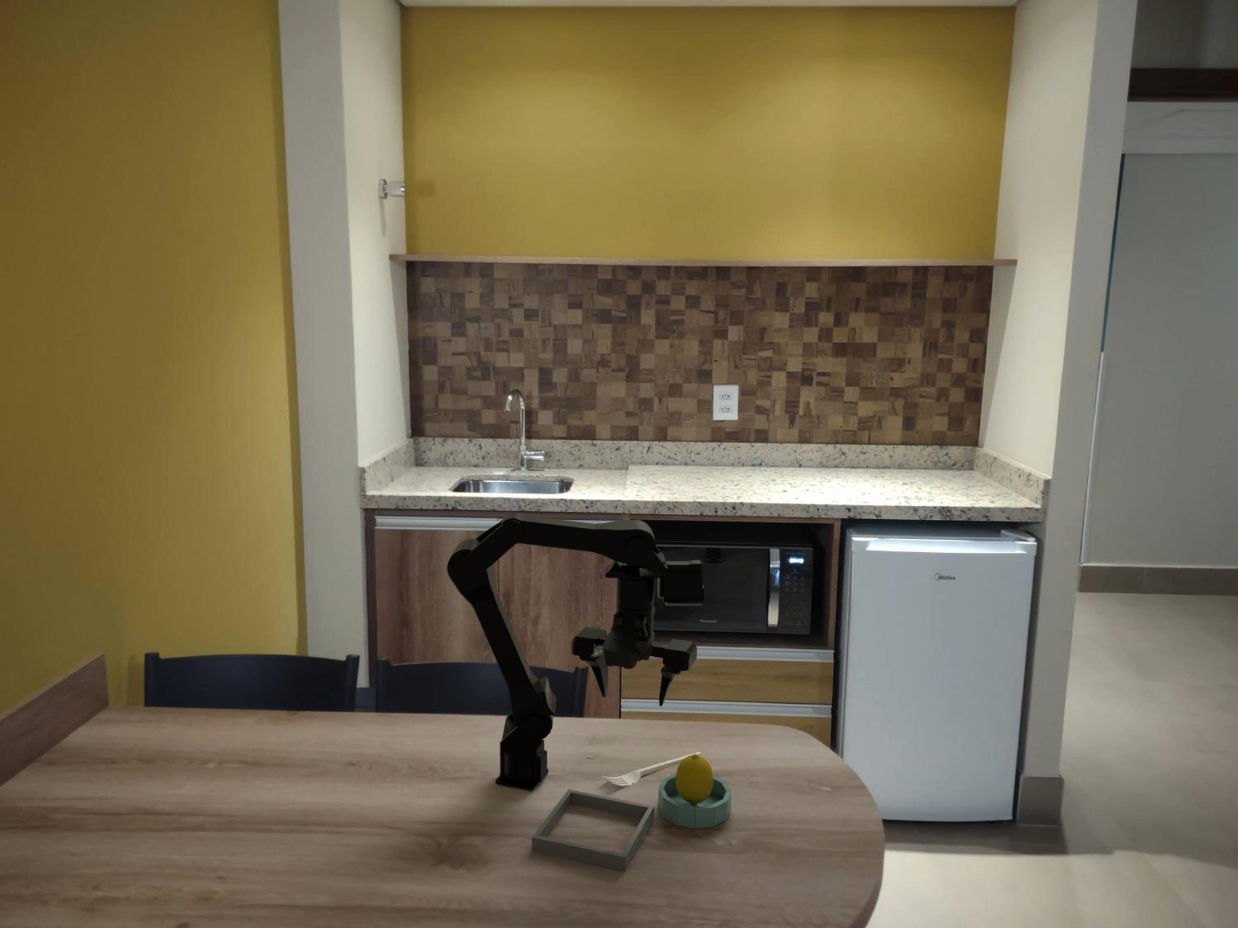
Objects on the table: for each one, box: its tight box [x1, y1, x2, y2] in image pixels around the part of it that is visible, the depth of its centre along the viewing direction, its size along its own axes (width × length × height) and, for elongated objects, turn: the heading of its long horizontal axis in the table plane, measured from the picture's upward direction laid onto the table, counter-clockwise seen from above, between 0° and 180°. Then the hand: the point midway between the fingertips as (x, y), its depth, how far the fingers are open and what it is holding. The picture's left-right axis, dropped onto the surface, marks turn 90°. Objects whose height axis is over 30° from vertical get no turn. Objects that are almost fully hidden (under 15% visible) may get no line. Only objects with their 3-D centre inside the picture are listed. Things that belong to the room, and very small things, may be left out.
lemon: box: [675, 753, 714, 805], centre depth 136 cm, size 6×6×8 cm
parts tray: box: [531, 789, 655, 872], centre depth 130 cm, size 13×13×2 cm
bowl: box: [657, 772, 732, 829], centre depth 137 cm, size 10×10×3 cm
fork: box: [600, 751, 703, 788], centre depth 148 cm, size 3×20×2 cm, turn 127°
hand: (632, 700), depth 143 cm, fingers open, 9 cm apart
